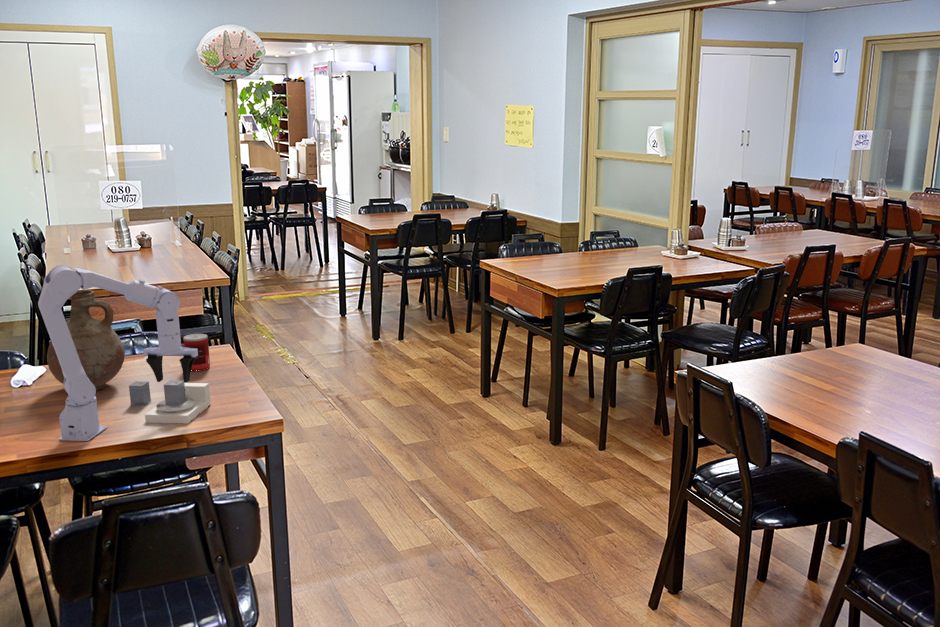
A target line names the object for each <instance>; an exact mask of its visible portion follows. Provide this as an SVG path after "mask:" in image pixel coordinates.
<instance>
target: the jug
mask: <svg viewBox="0 0 940 627" xmlns="http://www.w3.org/2000/svg"><path fill="white" fill-rule="evenodd" d="M69 298H70V304H71V305H70V318H69V321H68V322H66V323H67V326H68V329H69V332H70V334H71V337H72V340H73V343H74V345H75V348H76V351H77V354H78V356H79V359H80V362H81V365H82V367H83V369H84V371H85V374H86V376H87V377H88V378H89V380H90V382H91V383H92V384H93V385H94V386H95V389H96V391H99V390H103V389H104V388H106V386H107V383H109V382H110V381H111V380H113V379H114V378H115V377H116V376H117V375H118V373H120V371H121V368H122V367H123V364H124V362H125V357H126V356H125V355H126V353H125V348H124V344H123V342H122V340H121V338H120V336H119V335H118V334H117V333H116V331H115V330H114V329H113V327H112V324H113V321H114V310H113V308H112V306H111V305H110V304H109V303H108V302H107V301H105V300H101V299H96V295H95V291H94V290H89V289H85V290H83V289H82V290H78V291H77V292H76V293H75V294H73V295H72V296H71V297H69ZM92 307H94V308H101V309H102V310H104V313H105V314H104V318H103V319H102V320H101V321H100V320H98V319H95V318H93V317H92V315H91V313H90V308H92ZM46 362H47V365H48V370H49V371H50V373H51V374H52V376H53V377H54V378H55V379H56V381H58V382H59V383H61V384H62V385H63V383H64V375H63V372H62V368H61V365H60V362H59V360H58V357H57V354H56V352H55V349H54V346H53V344H52V341H51V340H50V343H49V345H48V348H47V352H46Z"/></svg>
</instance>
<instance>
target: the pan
mask: <svg viewBox="0 0 940 627" xmlns="http://www.w3.org/2000/svg"><path fill="white" fill-rule="evenodd" d="M194 405H195V401H194V400H193V399H190V398H186V402H184V403H183V404H182V405H180V406H166V404H165V399H164V400H162V401H160V402H158V403H157V404H156V406H155V407H157V410H159V411H163V412H175V411H182V410H186V409H189V408H191V407H193V406H194Z"/></svg>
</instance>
